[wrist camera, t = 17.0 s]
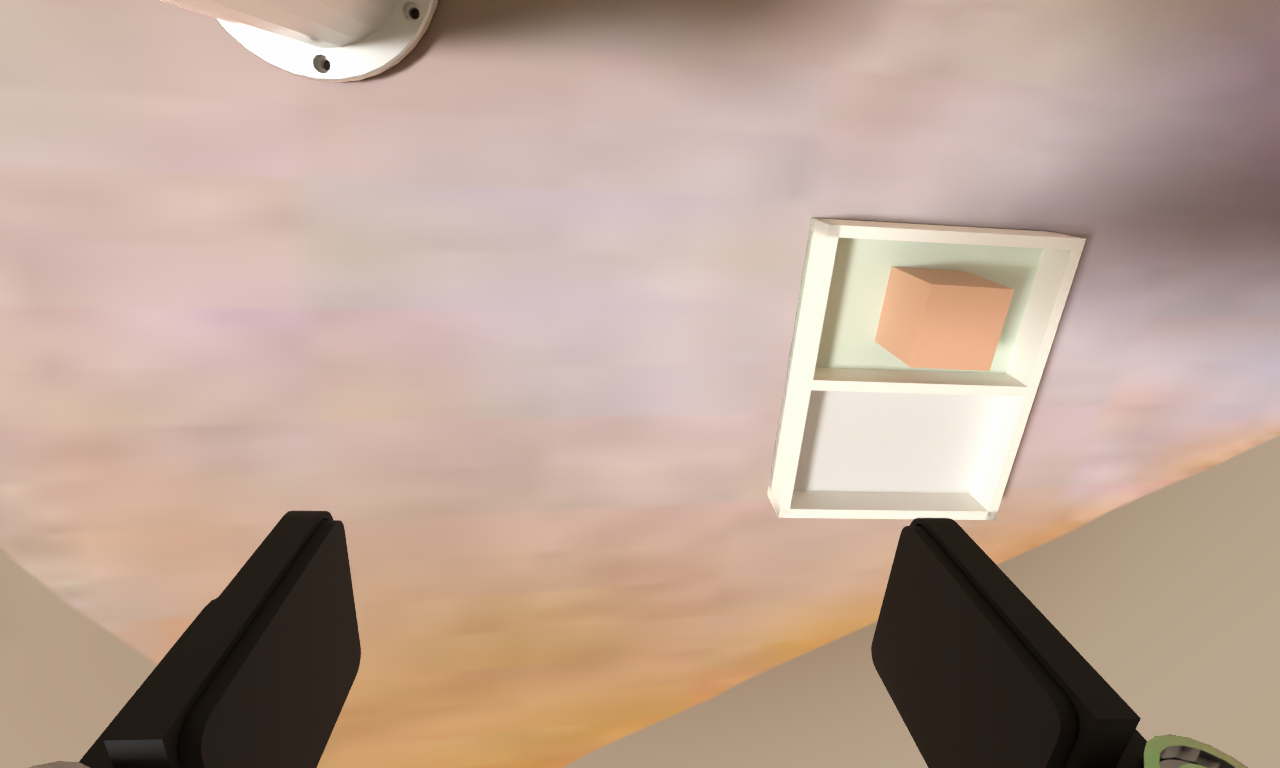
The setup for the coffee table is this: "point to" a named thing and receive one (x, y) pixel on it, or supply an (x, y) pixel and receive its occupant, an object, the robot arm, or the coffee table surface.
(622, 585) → the coffee table surface
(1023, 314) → the sorting box
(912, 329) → the plain light orange cube
